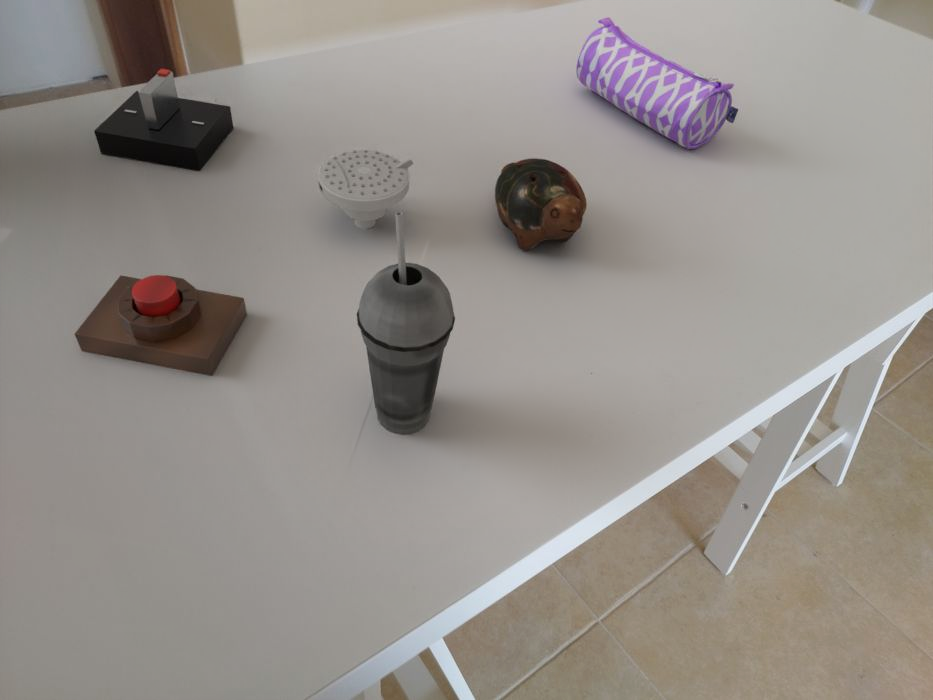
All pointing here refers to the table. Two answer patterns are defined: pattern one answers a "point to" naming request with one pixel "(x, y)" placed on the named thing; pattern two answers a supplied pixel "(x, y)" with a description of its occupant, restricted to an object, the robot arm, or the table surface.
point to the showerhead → (364, 183)
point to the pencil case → (654, 87)
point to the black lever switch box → (166, 133)
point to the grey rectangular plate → (159, 99)
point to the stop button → (156, 296)
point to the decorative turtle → (539, 201)
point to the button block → (164, 328)
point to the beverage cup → (405, 339)
